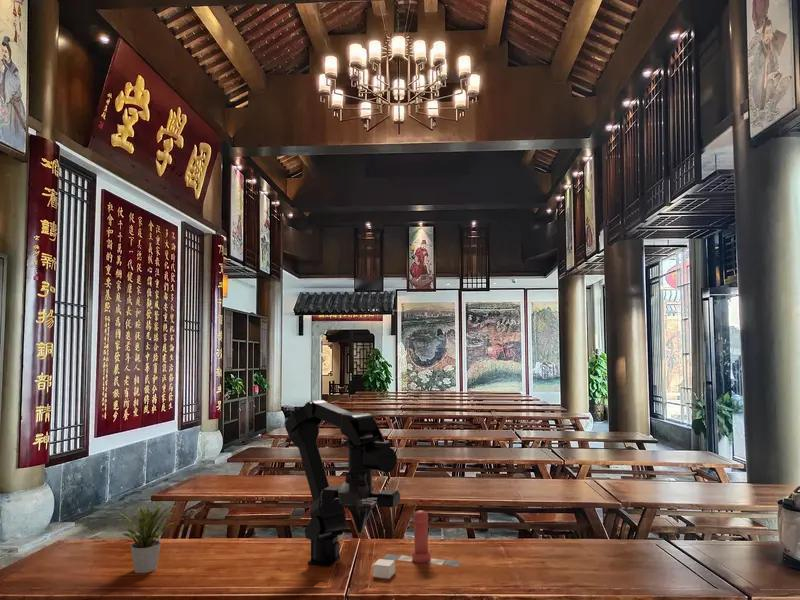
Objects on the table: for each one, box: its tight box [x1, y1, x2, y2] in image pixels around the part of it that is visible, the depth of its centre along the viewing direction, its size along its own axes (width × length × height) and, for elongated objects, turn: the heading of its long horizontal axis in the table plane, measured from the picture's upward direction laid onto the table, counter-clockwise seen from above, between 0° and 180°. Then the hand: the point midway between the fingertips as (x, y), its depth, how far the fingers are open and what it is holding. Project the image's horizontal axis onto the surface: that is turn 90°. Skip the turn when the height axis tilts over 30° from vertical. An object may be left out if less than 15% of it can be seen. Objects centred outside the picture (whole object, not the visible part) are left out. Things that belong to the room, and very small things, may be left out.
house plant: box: [118, 502, 179, 574], centre depth 156 cm, size 14×14×16 cm
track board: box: [381, 553, 462, 567], centre depth 157 cm, size 20×8×1 cm, turn 71°
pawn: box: [411, 509, 432, 564], centre depth 157 cm, size 5×5×12 cm
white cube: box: [372, 558, 396, 580], centre depth 147 cm, size 4×4×4 cm
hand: (360, 532), depth 150 cm, fingers closed
